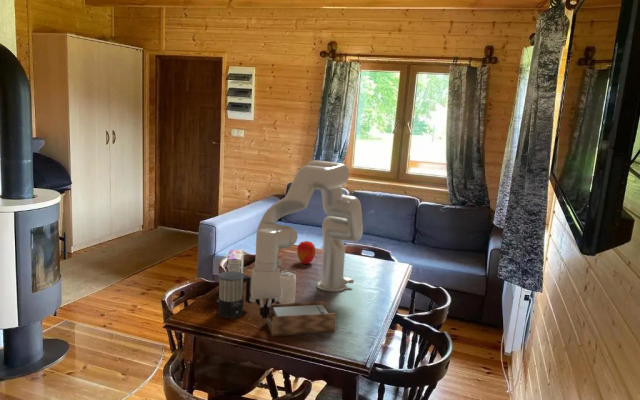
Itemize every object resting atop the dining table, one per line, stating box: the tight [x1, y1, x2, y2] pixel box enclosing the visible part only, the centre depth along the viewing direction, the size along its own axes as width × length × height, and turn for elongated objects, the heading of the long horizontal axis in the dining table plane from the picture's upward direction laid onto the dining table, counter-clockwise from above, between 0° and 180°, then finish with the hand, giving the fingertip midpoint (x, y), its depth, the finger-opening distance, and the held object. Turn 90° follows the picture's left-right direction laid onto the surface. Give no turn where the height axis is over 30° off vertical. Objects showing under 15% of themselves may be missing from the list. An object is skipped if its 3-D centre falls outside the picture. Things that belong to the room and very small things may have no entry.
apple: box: [297, 240, 317, 265], centre depth 244 cm, size 9×9×12 cm
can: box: [278, 270, 297, 304], centre depth 193 cm, size 6×6×12 cm
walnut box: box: [266, 300, 337, 337], centre depth 171 cm, size 22×11×7 cm, turn 106°
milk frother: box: [216, 271, 253, 319], centre depth 182 cm, size 14×16×15 cm
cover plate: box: [273, 305, 329, 316], centre depth 171 cm, size 18×9×2 cm, turn 106°
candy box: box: [226, 248, 245, 274], centre depth 199 cm, size 14×6×16 cm, turn 5°
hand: (264, 316), depth 168 cm, fingers closed
